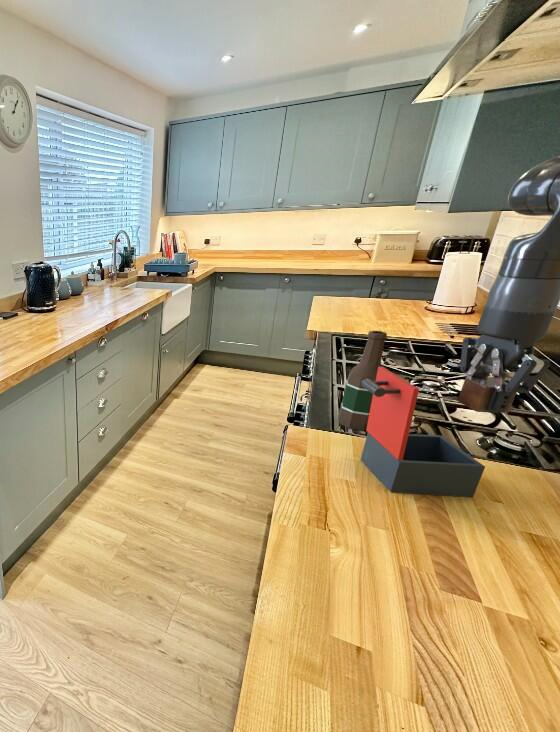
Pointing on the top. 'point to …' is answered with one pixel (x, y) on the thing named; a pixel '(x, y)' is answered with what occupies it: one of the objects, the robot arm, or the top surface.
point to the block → (479, 393)
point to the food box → (424, 467)
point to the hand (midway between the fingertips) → (482, 404)
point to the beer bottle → (355, 394)
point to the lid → (391, 410)
